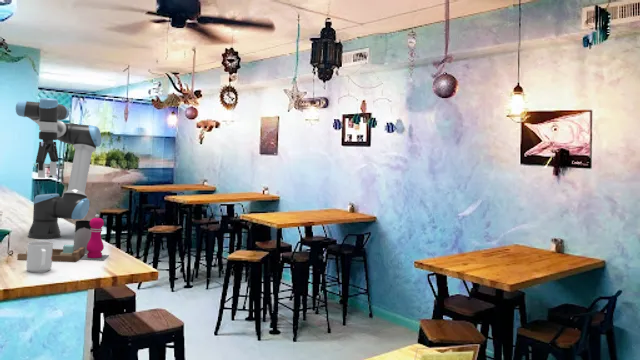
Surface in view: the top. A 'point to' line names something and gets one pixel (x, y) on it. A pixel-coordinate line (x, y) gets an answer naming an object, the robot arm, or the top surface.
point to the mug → (39, 256)
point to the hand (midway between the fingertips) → (47, 176)
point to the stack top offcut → (68, 248)
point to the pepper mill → (95, 238)
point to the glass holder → (82, 234)
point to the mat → (94, 258)
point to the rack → (58, 257)
